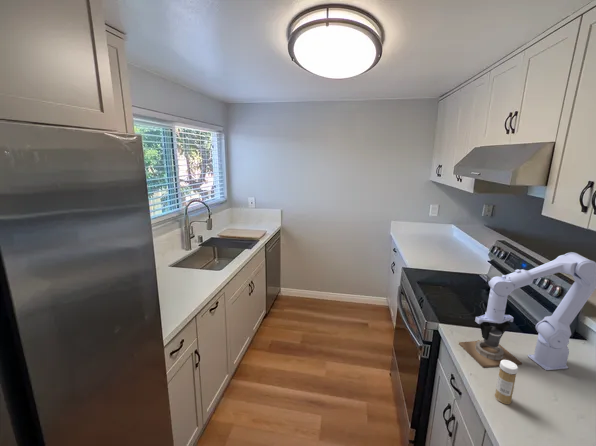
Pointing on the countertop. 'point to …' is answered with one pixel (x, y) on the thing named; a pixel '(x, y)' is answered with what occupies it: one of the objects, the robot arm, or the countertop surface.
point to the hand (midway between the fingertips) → (491, 337)
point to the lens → (494, 337)
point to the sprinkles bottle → (506, 381)
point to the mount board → (484, 360)
